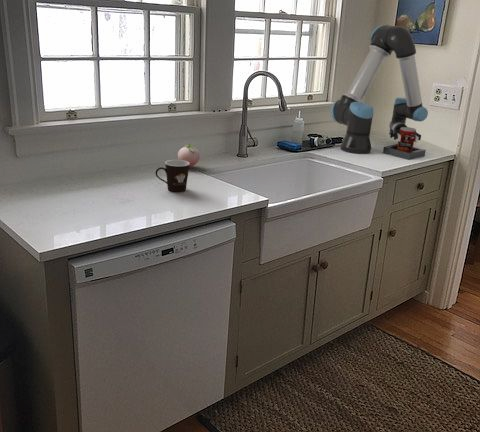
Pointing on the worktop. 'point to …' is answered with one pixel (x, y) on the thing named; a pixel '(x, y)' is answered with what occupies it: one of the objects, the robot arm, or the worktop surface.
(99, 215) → the worktop surface
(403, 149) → the canned food
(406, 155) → the square holder
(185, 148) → the decorative fruit
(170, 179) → the coffee mug
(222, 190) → the worktop surface
